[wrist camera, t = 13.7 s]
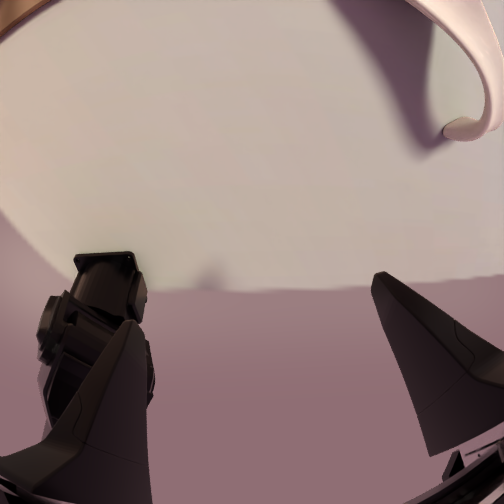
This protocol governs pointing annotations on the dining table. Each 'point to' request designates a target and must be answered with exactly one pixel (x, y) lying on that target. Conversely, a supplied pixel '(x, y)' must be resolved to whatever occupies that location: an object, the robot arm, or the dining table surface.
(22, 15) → the serving board
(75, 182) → the dining table surface
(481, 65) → the spoon rest
